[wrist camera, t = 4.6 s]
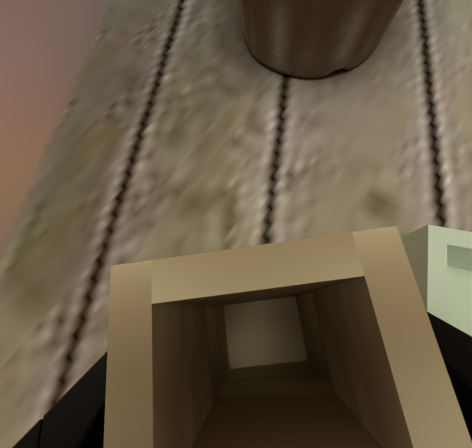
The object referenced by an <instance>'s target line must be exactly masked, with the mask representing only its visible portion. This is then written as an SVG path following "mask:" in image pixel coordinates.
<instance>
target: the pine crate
mask: <svg viewBox="0 0 472 448" xmlns="http://www.w3.org/2000/svg"><path fill="white" fill-rule="evenodd" d="M103 448H472V441H471V438H470V435H469V432H468V429H467V427H466V424H465V421H464V418H463V415H462V412H461V409H460V406H459V404H458V401H457V398H456V395H455V392H454V389H453V386H452V383H451V381H450V378H449V375H448V372H447V369H446V366H445V363H444V360H443V358H442V355H441V352H440V349H439V346H438V343H437V340H436V337H435V335H434V332H433V329H432V326H431V323H430V320H429V317H428V314H427V312H426V309H425V306H424V303H423V300H422V297H421V294H420V291H419V289H418V286H417V283H416V280H415V277H414V274H413V271H412V268H411V266H410V263H409V260H408V257H407V254H406V251H405V248H404V245H403V243H402V240H401V237H400V234H399V231H398V228H397V226H392V227H385V228H377V229H370V230H363V231H356V232H349V233H342V234H335V235H328V236H320V237H313V238H306V239H299V240H292V241H285V242H278V243H271V244H263V245H256V246H249V247H242V248H235V249H228V250H221V251H214V252H206V253H199V254H192V255H185V256H178V257H171V258H164V259H157V260H149V261H142V262H135V263H128V264H121V265H114V266H111V279H110V303H109V327H108V350H107V374H106V398H105V422H104V445H103Z"/></svg>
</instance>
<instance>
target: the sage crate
mask: <svg viewBox="0 0 472 448" xmlns="http://www.w3.org/2000/svg"><path fill="white" fill-rule="evenodd" d="M401 240H402V243H403V245H404V248H405V251H406V254H407V257H408V260H409V263H410V266H411V268H412V271H413V274H414V277H415V280H416V283H417V286H418V289H419V291H420V294H421V297H422V300H423V303H424V306H425V309H426V311H427V312H429V313H431V314H433V315H434V316H436V317H438V318H440V319H442V320H443V321H445V322H447V323H449V324H450V325H452V326H454V327H456V328H458V329H459V330H461V331H463V332H465V333H467V334H468V335H470V336H472V232H467V231H462V230H456V229H450V228H444V227H438V226H433V225H427V226H425V227H422V228H420V229H418V230H416V231H414V232H412V233H410V234H408V235H406V236H403V237H401Z"/></svg>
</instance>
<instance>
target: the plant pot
mask: <svg viewBox="0 0 472 448" xmlns="http://www.w3.org/2000/svg"><path fill="white" fill-rule="evenodd" d="M402 1H403V0H239V3H240V11H241V18H242V25H243V34H244V36H245V39H246V41H247V44H248V46H249V49H250V51H251V53H252V54H253V55H254V56H255V57H256V58H257V59H258V60H259V61H260V62H262V63H263V64H264V65H266V66H268V67H270V68H271V69H273V70H276V71H278V72H281V73H284V74H287V75H291V76H296V77H304V78H320V77H325V76H327V75H329V74H330V73H332V72H333V71H335V70H339V69H346V70H350V69H352V68H354V67H356V66H358V65H359V64H361V63H362V62H363V61H364V60H366V59H367V58H368V57H369V56H370V55H371V54H372V52H373V51H374V50H375V49H376V47H377V46H378V44H379V43H380V41H381V39H382V37H383V35H384V34H385V32H386V30H387V28H388V26H389V25H390V23H391V21H392V19H393V17H394V15H395V14H396V12H397V10H398V8H399V7H400V5H401V3H402Z"/></svg>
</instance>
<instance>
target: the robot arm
mask: <svg viewBox="0 0 472 448" xmlns="http://www.w3.org/2000/svg"><path fill="white" fill-rule="evenodd" d="M426 312H427V311H426ZM427 314H428V317H429V320H430V323H431V326H432V329H433V332H434V335H435V337H436V340H437V343H438V346H439V349H440V352H441V355H442V358H443V360H444V363H445V366H446V369H447V372H448V375H449V378H450V381H451V383H452V386H453V389H454V392H455V395H456V398H457V401H458V404H459V406H460V409H461V412H462V415H463V418H464V421H465V424H466V427H467V429H468V432H469V435H470V438H471V441H472V336H470V335H468V334H467V333H465V332H463V331H461V330H459V329H458V328H456V327H454V326H452V325H450V324H449V323H447V322H445V321H443V320H442V319H440V318H438V317H436V316H434V315H433V314H431V313H429V312H427ZM106 374H107V352H106V353H105V354H104V355H103V356H102V357H101V358H100V359H99V360H98V361H97V362H96V363H95V364H94V365H93V366H92V367H91V368H90V369H89V370H88V371H87V372H86V373H85V375H84V376H83V377H82V378H81V379H80V380H79V381H78V382H77V383H76V384H75V385H74V386H73V387H72V388H71V389H70V390H69V391H68V392H67V393H66V394H65V395H64V396H63V397H62V398H61V399H60V400H59V401H58V402H57V403H56V404H55V405H54V406H53V407H52V408H51V409H50V410H49V411H48V412H47V413H46V414H45V415H44V417H43V419H41V420H39V421H38V422H37V423H36V424H35V425H34V426H33V427H32V428H31V429H30V430H29V431H28V432H27V433H26V434H25V435H24V436H23V437H22V438H21V439H20V440H19V441H18V442H17V443H16V444H15V445H14V446H13V447H12V448H103V445H104V422H105V398H106Z"/></svg>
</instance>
